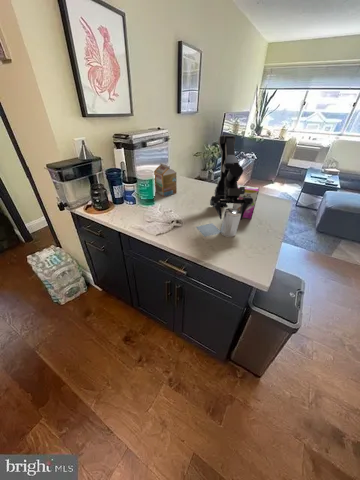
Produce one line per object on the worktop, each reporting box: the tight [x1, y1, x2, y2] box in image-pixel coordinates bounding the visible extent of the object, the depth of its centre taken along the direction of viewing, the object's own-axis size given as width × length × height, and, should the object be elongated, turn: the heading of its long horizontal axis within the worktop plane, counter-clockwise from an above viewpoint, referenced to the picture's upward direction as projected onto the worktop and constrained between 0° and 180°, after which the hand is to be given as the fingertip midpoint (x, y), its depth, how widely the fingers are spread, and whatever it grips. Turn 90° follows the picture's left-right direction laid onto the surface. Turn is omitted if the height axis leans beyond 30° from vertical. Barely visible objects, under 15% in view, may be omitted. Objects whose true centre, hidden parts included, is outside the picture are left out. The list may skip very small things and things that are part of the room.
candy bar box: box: [232, 184, 260, 220], centre depth 105 cm, size 11×5×16 cm, turn 71°
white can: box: [220, 207, 241, 238], centre depth 92 cm, size 7×7×12 cm
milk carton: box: [153, 162, 178, 197], centre depth 131 cm, size 11×11×19 cm
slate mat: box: [195, 222, 221, 238], centre depth 98 cm, size 10×10×1 cm
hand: (231, 219), depth 90 cm, fingers open, 9 cm apart
